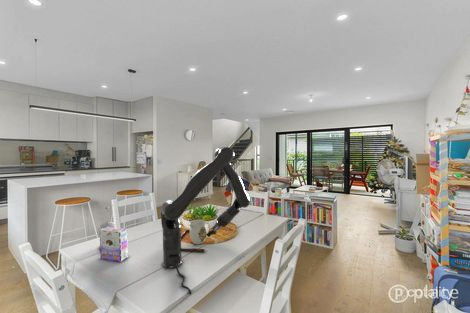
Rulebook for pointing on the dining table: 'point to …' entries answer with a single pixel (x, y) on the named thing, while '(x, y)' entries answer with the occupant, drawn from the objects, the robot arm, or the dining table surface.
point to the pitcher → (198, 231)
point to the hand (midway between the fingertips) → (207, 235)
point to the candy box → (113, 244)
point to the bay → (191, 248)
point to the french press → (107, 224)
